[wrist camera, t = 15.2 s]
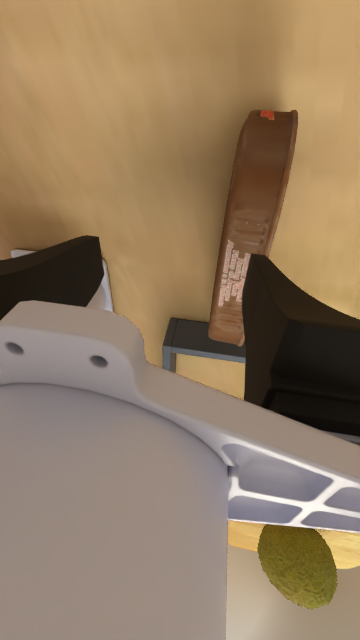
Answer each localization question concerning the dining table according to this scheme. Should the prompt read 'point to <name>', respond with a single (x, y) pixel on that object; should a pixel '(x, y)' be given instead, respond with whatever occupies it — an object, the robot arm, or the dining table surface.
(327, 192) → the dining table surface
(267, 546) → the fruit
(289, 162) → the tin
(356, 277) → the dining table surface
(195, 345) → the box
